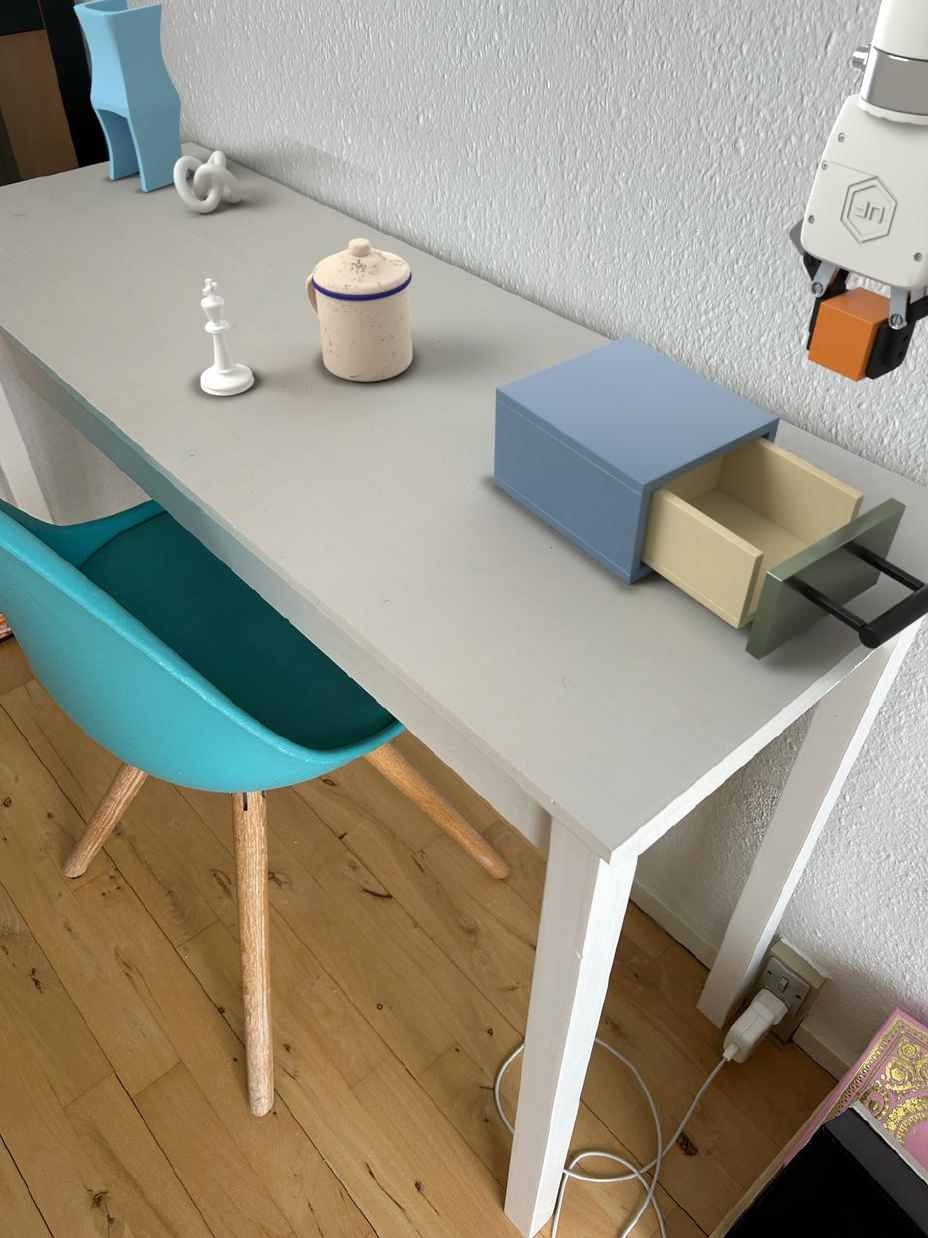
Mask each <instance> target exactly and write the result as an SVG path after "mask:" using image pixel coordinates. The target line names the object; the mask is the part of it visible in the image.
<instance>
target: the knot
mask: <svg viewBox="0 0 928 1238" xmlns="http://www.w3.org/2000/svg"><path fill="white" fill-rule="evenodd" d="M226 167H227V159H226V154H225V153H224V152H223V151H221V150H215V151H214V152H213V153H212V154H211V155H210V157H209V158H208V161H206V163H204V162H202V161H201V160H200V159H198V158H196V157H193V156H191V155H185V156H184V155H183V157H181V158H180V159H179V160H178V161H177V162H176V164H175V167H174V185H175V189H176V191H177V193H178V195H179V197H180V199H181V200H182V202H184V204H185V205H186V206H187V207H188V208H189V209H191V210H192V211H194V212H196V213H199V214H208V213H211V212H212V211H214V210H215V209H216V208H217V207H218V205H219V203H220V202H221V200H223V201H225V202H227V203H230V204H238V203H239V202H241V201H242V199H243V189H242V186H241V184H240V182H239V181H238V179H237V178H236V176H234V174H233V173H231V171H229V170H228V169H227V168H226ZM187 170H192V171H193V172H195V173H194V175H193V180H192V188H191V189H192V190H191V189H190V187H189V185H188V182H187V178H186V171H187ZM209 189H210V191H209ZM208 192H209V194H208ZM207 194H208V196H207ZM206 196H207V197H206Z"/></svg>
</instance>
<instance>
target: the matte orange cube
mask: <svg viewBox="0 0 928 1238" xmlns="http://www.w3.org/2000/svg"><path fill="white" fill-rule="evenodd" d="M849 290H850V291H847V292H845V293H843V294H840V295H838V296H835V297H833V298H831V299H828V300H826V301H824V302H821V305H820V309H819V313H818V317H817V321H816V325H815V330H814V334H813V338H812V342H811V346H810V350H809V351H808V355H807V360H808V361H810V362H813V363H815V364H817V365H819V366H821V367H823V368H826V369H828V370H830V371H831V372H834V373H837V374H838V375H840V376H843V377H845V378H848V379H850V380H852V381H854V382H857V383H858V382H860V381H862V380H864V379H866V378H867V377H866V374H865V372H866V368H867V365H868V361H869V358H870V354H871V351H872V348H873V344H874V341H875V337H876V334H877V331H878V328H879V327H880V325H882V324H884V323H886V322H888V317H889V305H890V297H887V296H886V295H882V294H880V293H877V292H875V291H872V290H869V289H868V288H867V289H866V288H864V287H862V286H857V287H854V288H852V289H849Z"/></svg>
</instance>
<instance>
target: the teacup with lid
mask: <svg viewBox="0 0 928 1238" xmlns="http://www.w3.org/2000/svg"><path fill="white" fill-rule="evenodd" d="M412 279H413V274H412V271H411V268H410V266H409V264H408V263H407V262H406V261H405V260H404V258H402V257H400V256H398V255H397V254H394V253H391V252H389V251H385V250H379V249H377V248H374V247H372V244H371V242H370V240H369V239H366V238H362V237H359V238H354V239H351V240H350V241H349V242H348V245H347V249H345V250H342V251H340V252H337V253H333V254H331V255H328V256H326V257H325V258H323V259H322V260H320V261H319V262H318V263H317V264H316V265H315V267H314V268H313V271H312V273H311V274H310V275H308V276H307V278H306V280H305V285H304V287H305V288H304V289H305V295H306V298H307V299H306V300H307V302H308V304H309V307H310V309H311V310H312V313H313V314H314V315H315V316H316V318H317V319H318V324H319V335H320V344H321V351H322V352H321V353H322V361H323V364H324V367H325V368H326V369H327V370H328V371H329V373H331V374H332V375H334V376H336V377H338V378H340V379H342V380H343V379H344V380H347V381H351V382H358V383H359V382H360V383H361V382H362V383H369V382H378V381H383V380H387V379H388V380H389V379H391V378H394V377H397V376H398V375H399V374H401V373H403V372H405V371H406V370H407V369H408V368H409V367H410V365H411V364H412V361H413V355H414V354H413V334H412V333H413V332H412V330H413V329H412V312H411V311H412V310H411V309H412V308H411V289H410V288H411V285H410V283H411V282H412Z"/></svg>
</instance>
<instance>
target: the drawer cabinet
mask: <svg viewBox="0 0 928 1238" xmlns="http://www.w3.org/2000/svg"><path fill="white" fill-rule="evenodd" d="M494 413H495V414H494V415H495V419H494V456H493V457H494V458H493V459H494V460H493V484H494V485H495V486H497V488H498V489H500V490H502V491H503V492H504V493H506V494H507V495H508V496H510V497H511V498H513V500H514V501H516V502H518V503H519V504H520V505H522V506H523V507H525V508H526V509H527V510H528V511H529V512H531V513H533V514H534V515H535V516H536V517H538V518H539V519H541V520H542V521H543V522H545V523H546V524H547V525H548V526H550V527H552V529H554V530H555V531H556V532H558V533H559V534H561V535H562V536H563V537H565V538H566V539H567V540H569V541H570V542H572V543H573V544H574V545H575V546H577V548H579V549H581V550H582V551H583V552H585V553H586V554H587V555H588V556H590V557H591V558H592V559H594V560H595V561H596V562H597V563H599V564H600V565H602V566H604V567H605V568H606V569H607V570H609V572H611V573H612V574H614V575H616V576H617V577H618V578H619V579H621V580H622V581H623V582H625V583H626V584H627V585H631V584H633V583H635V582H637V581H639V580H640V579H642V578H643V577H646V576H648V575H649V574H651V573H653V572H656V571H655V570H654V569H653V568H651V567H650V566H648V565H647V564H646V563H644V562H643V561H641V554H642V548H643V541H644V535H645V529H646V522H647V516H648V510H649V503H650V497H651V491H652V490H654V489H656V488H658V487H660V486H662V485H664V484H666V483H668V482H670V481H672V480H674V479H676V478H678V477H680V476H682V475H684V474H686V473H688V472H690V471H692V470H694V469H696V468H698V467H700V466H702V465H704V464H706V463H708V462H710V461H712V460H714V459H716V458H718V457H720V456H722V455H724V454H726V453H728V452H730V451H732V450H734V449H736V448H738V447H740V446H742V445H744V444H746V443H748V442H750V441H752V440H754V439H756V438H758V437H760V436H761V437H763V438H765V439H766V440H768V441H770V442H772V443H774V444H775V440H776V437H777V433H778V428H779V424H780V421H781V417H780V416H778V415H776V414H775V413H772V412H771V411H769V410H767V409H765V408H764V407H762V406H759V405H758V404H756V403H754V402H752V401H751V400H748V399H746V398H745V397H743V396H742V395H739V394H737V393H735V392H734V391H732V390H730V389H728V388H726V387H724V386H722V385H721V384H719V383H717V382H715V381H713V380H711V379H709V378H708V377H706V376H704V375H702V374H700V373H698V372H696V371H694V370H692V369H691V368H689V367H687V366H685V365H683V364H681V363H679V362H677V361H676V360H674V359H672V358H670V357H668V356H667V355H664V354H663V353H660V352H659V351H657V350H655V349H653V348H652V347H650V346H648V345H646V344H644V343H643V342H641V341H638V340H636V339H635V338H634V337H631V336H629V335H626V336H623V337H621V338H618V339H616V340H614V341H611V342H608V343H605V344H603V345H601V346H598V347H595V348H593V349H590V350H588V351H585V352H583V353H581V354H578V355H575V356H573V357H571V358H568V359H566V360H563V361H560V362H558V363H555V364H553V365H551V366H548V367H545V368H543V369H540V370H538V371H536V372H532V373H530V374H527V375H524V376H522V377H520V378H517V379H514V380H513V381H510V382H508V383H505V384H502V385H500V386H498V387H496V388H495V411H494Z"/></svg>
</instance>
